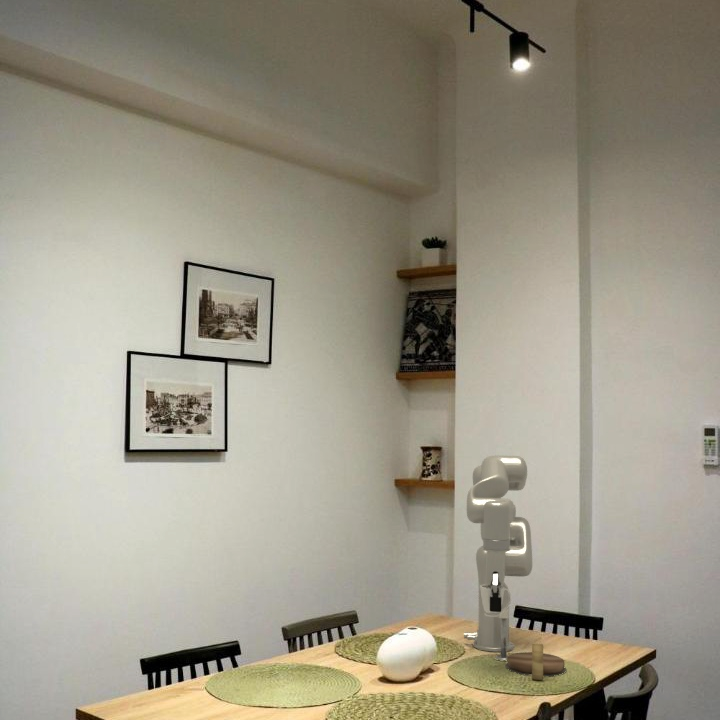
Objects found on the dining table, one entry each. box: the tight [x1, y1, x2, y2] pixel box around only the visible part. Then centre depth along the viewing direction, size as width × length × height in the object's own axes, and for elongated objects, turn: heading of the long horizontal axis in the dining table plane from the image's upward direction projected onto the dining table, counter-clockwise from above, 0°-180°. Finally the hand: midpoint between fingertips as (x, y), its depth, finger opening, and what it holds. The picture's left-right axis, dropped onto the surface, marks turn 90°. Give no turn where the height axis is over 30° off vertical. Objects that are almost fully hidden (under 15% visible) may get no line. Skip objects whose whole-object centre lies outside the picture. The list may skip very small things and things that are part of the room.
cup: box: [480, 584, 512, 617], centre depth 243 cm, size 7×10×8 cm
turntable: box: [506, 642, 565, 681], centre depth 241 cm, size 22×16×9 cm
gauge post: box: [494, 607, 510, 661], centre depth 254 cm, size 5×5×15 cm
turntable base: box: [505, 662, 567, 677], centre depth 244 cm, size 17×17×1 cm
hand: (496, 608), depth 242 cm, fingers closed on cup, 7 cm apart
